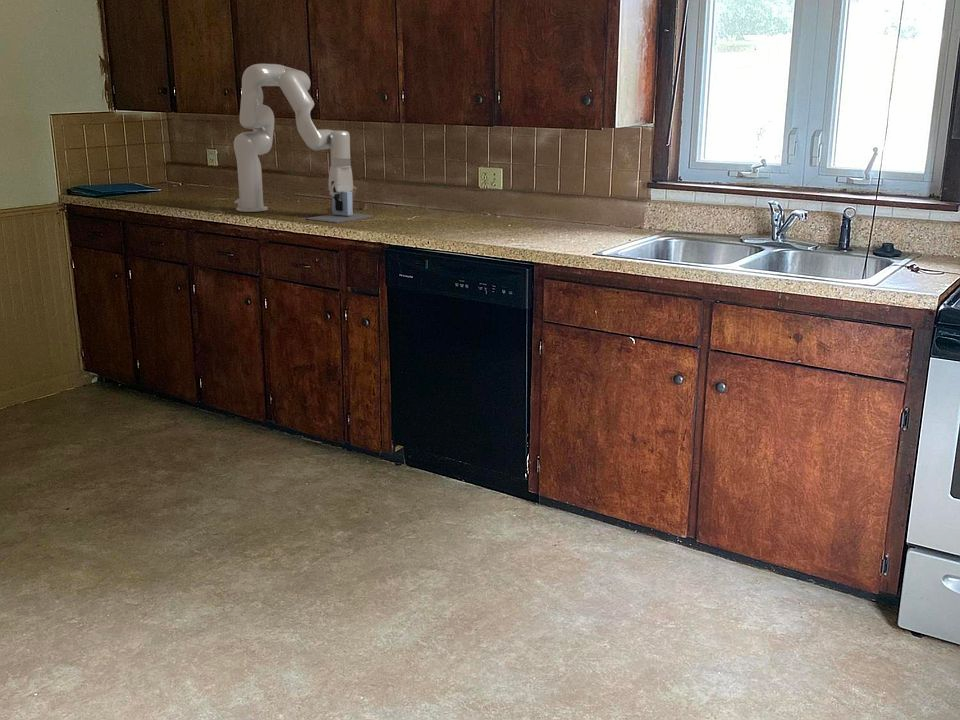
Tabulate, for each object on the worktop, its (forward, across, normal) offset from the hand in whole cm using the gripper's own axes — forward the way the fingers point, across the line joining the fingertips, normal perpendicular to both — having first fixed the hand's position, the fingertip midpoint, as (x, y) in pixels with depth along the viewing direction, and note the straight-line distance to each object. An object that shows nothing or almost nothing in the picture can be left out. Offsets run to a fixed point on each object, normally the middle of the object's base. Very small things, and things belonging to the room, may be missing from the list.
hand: (342, 209), depth 378 cm
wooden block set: (+3, -15, -10) cm, 18 cm away
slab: (+2, 0, 0) cm, 2 cm away
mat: (+3, +3, +1) cm, 4 cm away
